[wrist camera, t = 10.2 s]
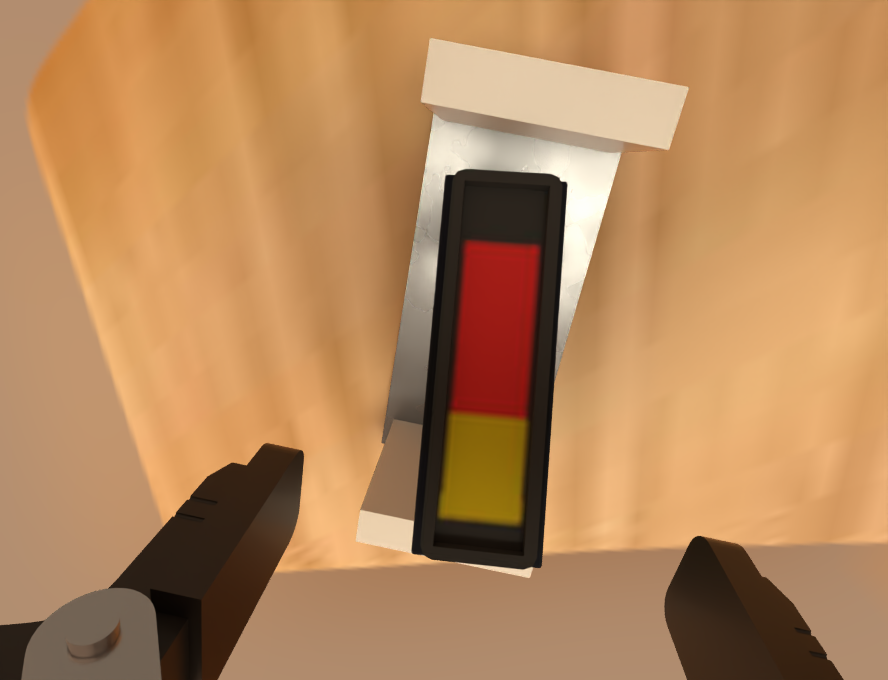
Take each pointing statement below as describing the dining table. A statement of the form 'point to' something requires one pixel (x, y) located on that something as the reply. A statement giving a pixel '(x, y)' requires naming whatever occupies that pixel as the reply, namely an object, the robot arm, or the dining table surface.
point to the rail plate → (445, 156)
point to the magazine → (491, 370)
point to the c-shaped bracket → (531, 115)
